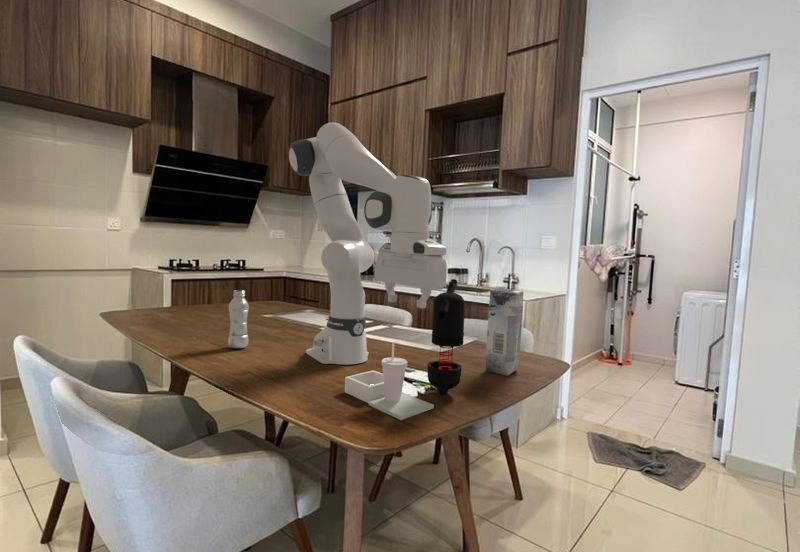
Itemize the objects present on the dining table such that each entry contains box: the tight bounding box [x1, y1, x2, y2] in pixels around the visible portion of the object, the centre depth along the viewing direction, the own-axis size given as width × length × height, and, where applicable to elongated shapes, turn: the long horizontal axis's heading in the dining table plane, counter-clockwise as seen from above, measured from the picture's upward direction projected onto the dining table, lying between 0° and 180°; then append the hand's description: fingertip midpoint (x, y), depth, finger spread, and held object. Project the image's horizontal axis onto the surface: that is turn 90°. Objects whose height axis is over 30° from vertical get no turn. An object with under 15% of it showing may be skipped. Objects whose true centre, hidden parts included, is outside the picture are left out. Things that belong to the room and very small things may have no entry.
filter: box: [426, 278, 466, 396], centre depth 109 cm, size 14×9×30 cm
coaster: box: [368, 391, 435, 421], centre depth 101 cm, size 11×11×1 cm
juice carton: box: [485, 285, 524, 377], centre depth 133 cm, size 9×10×27 cm
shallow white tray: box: [344, 370, 385, 404], centre depth 108 cm, size 10×10×4 cm
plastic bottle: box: [227, 289, 250, 350], centre depth 145 cm, size 6×7×20 cm
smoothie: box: [381, 342, 408, 403], centre depth 102 cm, size 6×6×14 cm
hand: (406, 304), depth 99 cm, fingers open, 8 cm apart
